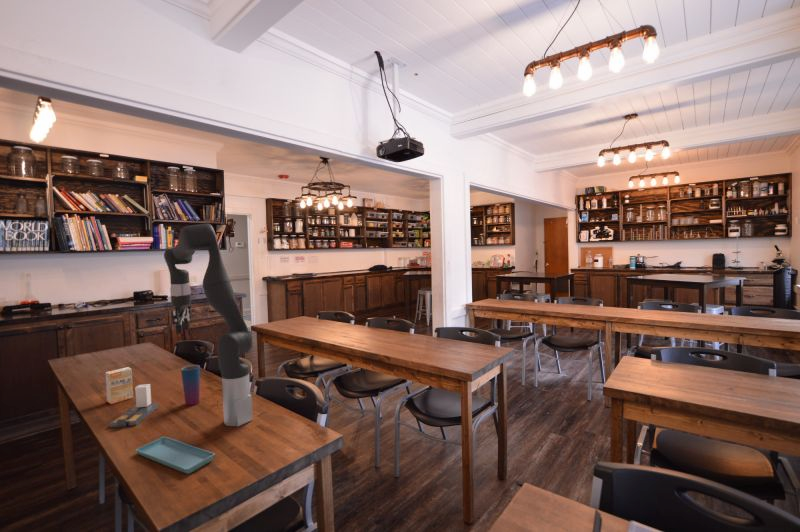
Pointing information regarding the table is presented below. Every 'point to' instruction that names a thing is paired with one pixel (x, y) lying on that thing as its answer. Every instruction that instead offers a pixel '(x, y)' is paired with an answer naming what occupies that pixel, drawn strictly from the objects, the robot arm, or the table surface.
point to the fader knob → (143, 395)
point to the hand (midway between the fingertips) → (182, 331)
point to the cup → (191, 384)
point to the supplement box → (119, 385)
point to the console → (133, 416)
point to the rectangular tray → (176, 454)
